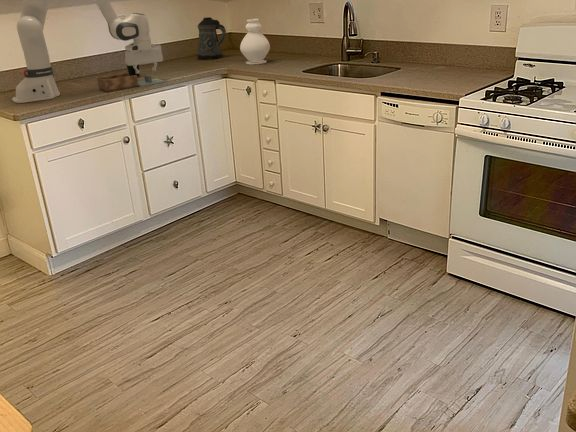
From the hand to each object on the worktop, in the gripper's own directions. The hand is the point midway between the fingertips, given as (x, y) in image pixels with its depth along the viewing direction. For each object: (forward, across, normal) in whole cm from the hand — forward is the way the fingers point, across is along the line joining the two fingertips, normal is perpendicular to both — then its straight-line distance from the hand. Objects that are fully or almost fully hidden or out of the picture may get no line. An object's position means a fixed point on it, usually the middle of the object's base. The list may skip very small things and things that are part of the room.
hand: (146, 72), depth 315 cm
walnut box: (+6, +16, 0) cm, 17 cm away
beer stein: (+5, -68, -44) cm, 81 cm away
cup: (+6, -4, -24) cm, 25 cm away
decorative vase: (+4, -74, -2) cm, 74 cm away
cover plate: (+6, -1, 0) cm, 6 cm away
